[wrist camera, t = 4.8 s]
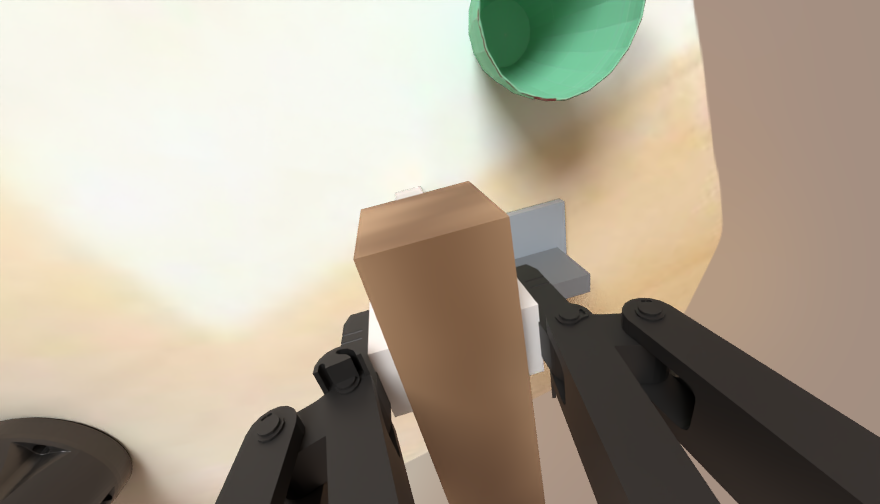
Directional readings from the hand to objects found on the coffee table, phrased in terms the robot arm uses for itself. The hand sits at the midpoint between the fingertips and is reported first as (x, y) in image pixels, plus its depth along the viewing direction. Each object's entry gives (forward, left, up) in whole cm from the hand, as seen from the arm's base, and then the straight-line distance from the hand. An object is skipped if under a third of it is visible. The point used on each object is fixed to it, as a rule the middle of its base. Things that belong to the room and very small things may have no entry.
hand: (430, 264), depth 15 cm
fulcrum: (+9, -11, -16) cm, 22 cm away
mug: (+13, +11, -17) cm, 24 cm away
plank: (0, -5, +4) cm, 7 cm away
